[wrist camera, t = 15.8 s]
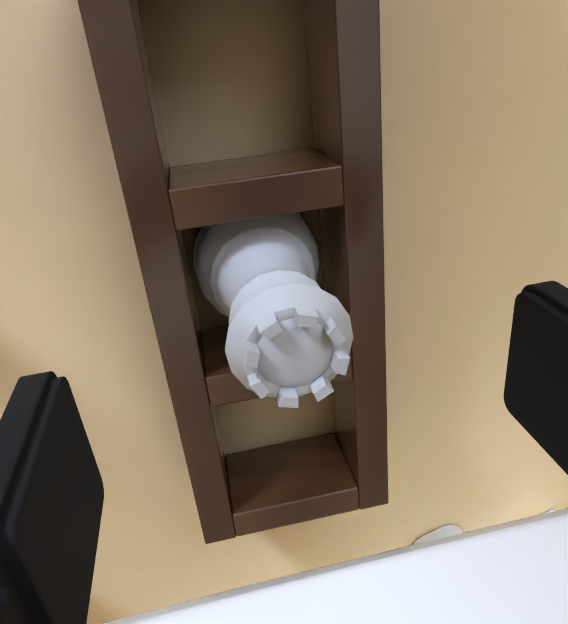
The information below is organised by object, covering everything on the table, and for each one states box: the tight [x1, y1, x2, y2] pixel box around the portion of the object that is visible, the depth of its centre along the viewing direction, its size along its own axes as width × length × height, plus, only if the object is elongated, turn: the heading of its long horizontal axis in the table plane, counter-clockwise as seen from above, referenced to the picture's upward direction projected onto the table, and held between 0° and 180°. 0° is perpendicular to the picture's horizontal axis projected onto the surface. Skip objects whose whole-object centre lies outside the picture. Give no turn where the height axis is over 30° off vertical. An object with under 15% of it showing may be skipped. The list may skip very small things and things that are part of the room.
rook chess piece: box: [193, 213, 353, 408], centre depth 16 cm, size 4×4×8 cm
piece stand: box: [78, 0, 388, 544], centre depth 18 cm, size 7×20×4 cm, turn 6°
